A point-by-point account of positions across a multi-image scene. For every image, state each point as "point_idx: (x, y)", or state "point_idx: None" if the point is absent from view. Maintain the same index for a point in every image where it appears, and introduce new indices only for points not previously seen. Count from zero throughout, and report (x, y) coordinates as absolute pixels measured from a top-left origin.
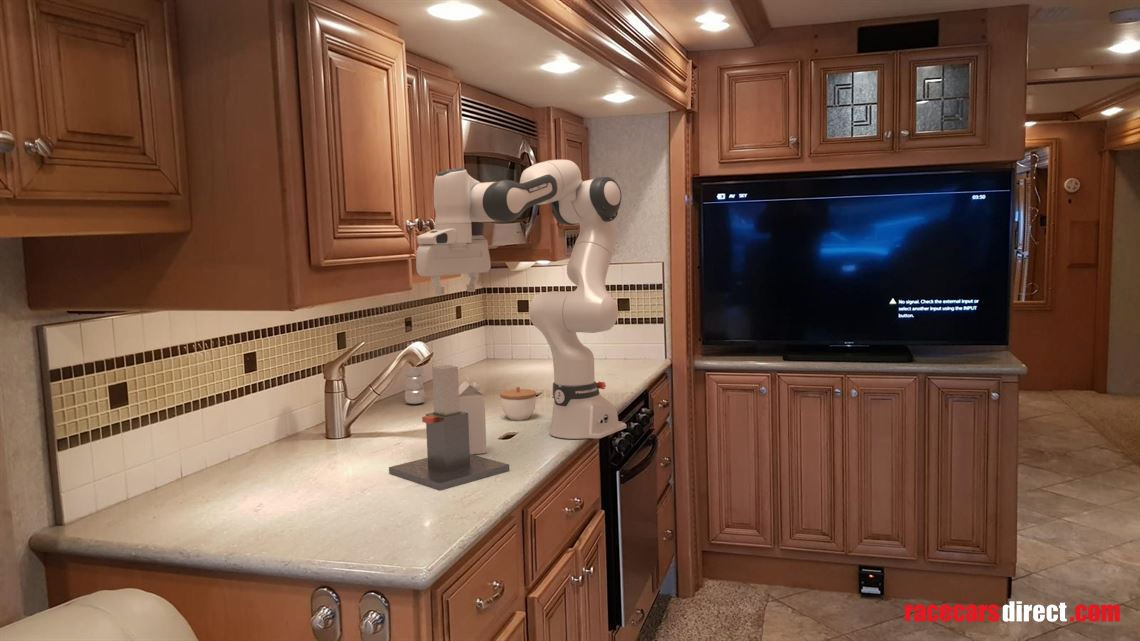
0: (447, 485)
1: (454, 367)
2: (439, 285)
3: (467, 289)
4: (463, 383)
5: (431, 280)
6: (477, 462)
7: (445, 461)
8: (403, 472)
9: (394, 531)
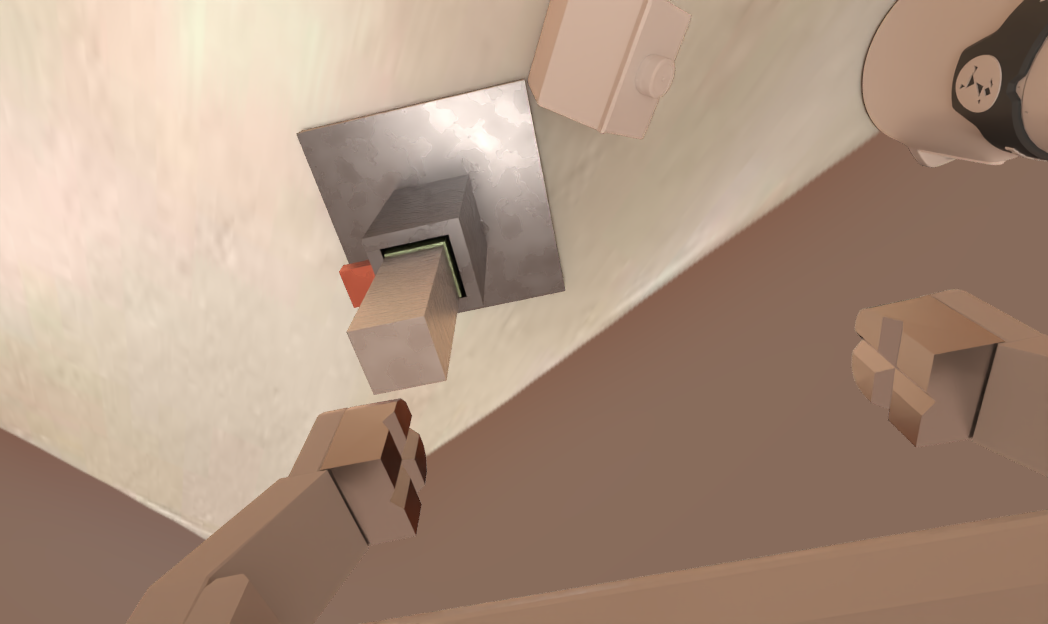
0: None
1: (429, 383)
2: (326, 576)
3: (875, 335)
4: (623, 10)
5: (164, 598)
6: (513, 233)
7: None
8: (324, 200)
9: (252, 457)
